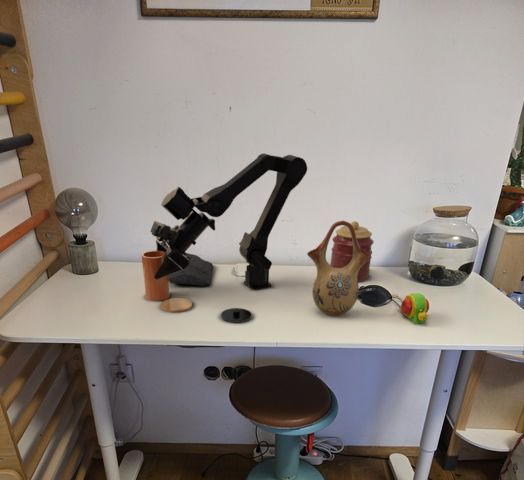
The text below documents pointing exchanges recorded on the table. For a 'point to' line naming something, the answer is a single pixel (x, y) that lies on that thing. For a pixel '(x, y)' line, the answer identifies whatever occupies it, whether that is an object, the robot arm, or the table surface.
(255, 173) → the robot arm
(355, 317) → the table surface
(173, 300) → the coaster
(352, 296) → the ceramic vessel
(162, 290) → the pot
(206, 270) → the dark slate chunk
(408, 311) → the toy measuring tape
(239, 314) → the lid
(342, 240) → the kitchen canister
